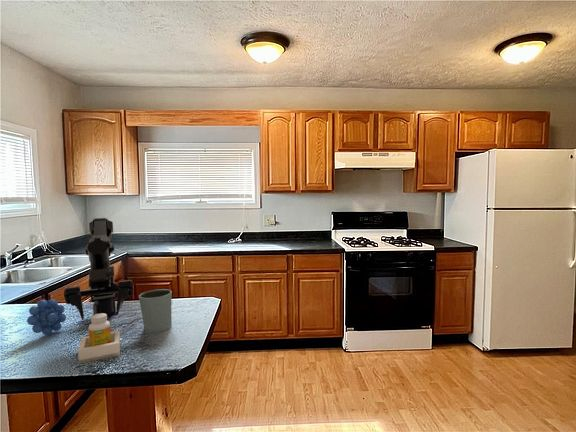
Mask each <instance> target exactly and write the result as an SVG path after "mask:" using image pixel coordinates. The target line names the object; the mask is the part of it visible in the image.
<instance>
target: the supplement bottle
mask: <svg viewBox="0 0 576 432" xmlns="http://www.w3.org/2000/svg"><path fill="white" fill-rule="evenodd" d="M107 319H108V317H107V314H105V313H100V314H95V315H93V314H92V315H91V316H90V322H91V323H90V324H89V326H88V336H89V342H90V347H92V346H97V345H102V344H108V343H111V332H112V331H111V322H110V321H108V320H107Z"/></svg>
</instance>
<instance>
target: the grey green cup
mask: <svg viewBox="0 0 576 432" xmlns="http://www.w3.org/2000/svg"><path fill="white" fill-rule="evenodd" d="M172 293H173V292H172V290H171V289H167V288H161V289H158V288H157V289H151V290H148V291H144V292H141V293H140V294H139V295H138V299H139V305H140V312H141V317H142V324H143V331H144V332H145V333H146V334H153V335H154V334H160V333H165V332H167V331H169V330H171V328H172V325H173V324H172V311H173V310H172V304H173V303H172V302H173V301H172V298H173V297H172V296H173V295H172Z"/></svg>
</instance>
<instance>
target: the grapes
mask: <svg viewBox="0 0 576 432" xmlns="http://www.w3.org/2000/svg"><path fill="white" fill-rule="evenodd" d="M58 303H59V302H58V301H57V300H56V299H55V298H53V299H52V298H51V299H48V300H46V299H39V300H38V301H37V303H36V305H32V306H30V307H29V310H28V313H29V314H30V315H29V316H28V317H27V319H26V322H27V324H28V325H30V326H31V330H32V332H33V333H36V334H40V333H42V334H43V335H44V336H48V335H49V336H50V335H51V334H52V333H53V331H54V332H57V331H60V330H61V328H62V324H61V323H64V322H65V321H67V315H66V314H64V312H65V310H66V309H65V306H64V305H63V304H58Z"/></svg>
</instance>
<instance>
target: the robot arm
mask: <svg viewBox="0 0 576 432" xmlns="http://www.w3.org/2000/svg"><path fill="white" fill-rule="evenodd" d="M113 223H114V222H113V221H112V220H108V218H106V217H100V218H99V217H98V218H97V217H96V218H93V219H92V221H90V222H89V223H88V228H89V229H88V231H89V235H91V237H90V239H89V241H88V244H86V247H85V254H86V256H88V260H89V262H90V263H89V265H90V266H89V267H90V268H89V271H88V275H89V277H88V287H89V288H88V289H82V290H81V288H80V287H81V286H79V285H77V286H70V287H66V288H65V289H64V290H63V297H64V300H65V302H66V303H65V304H67V305H71V307H72V306H73V307H74V306H75V308H76V309H77V311H78V313H79V316H80V318H81V320H85V319H84V318H85V313H84V307H83V305H84V304H83V300H82V298H83V297H90V301H91V303H93V304H92V312H93V313H92V316H93V315H95V314H100V313H105V314H107V318H108V317H111V316H115V315H119V314H120V311H121V308H122V306H123V304H124V302H125V300H126V299H129V297H131V296H133V295H134V283H133V280H131V279H127V280H126V279H124V280H119V281H118V284H117V282H115V279H114V277H115V267H114V265H113V266H111V261H110V257H111V254H113V252H114V251H115V245H113V242H111V240H112V237H113V236H112V234H113V233H114V224H113ZM116 299H117V301H116Z"/></svg>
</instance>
